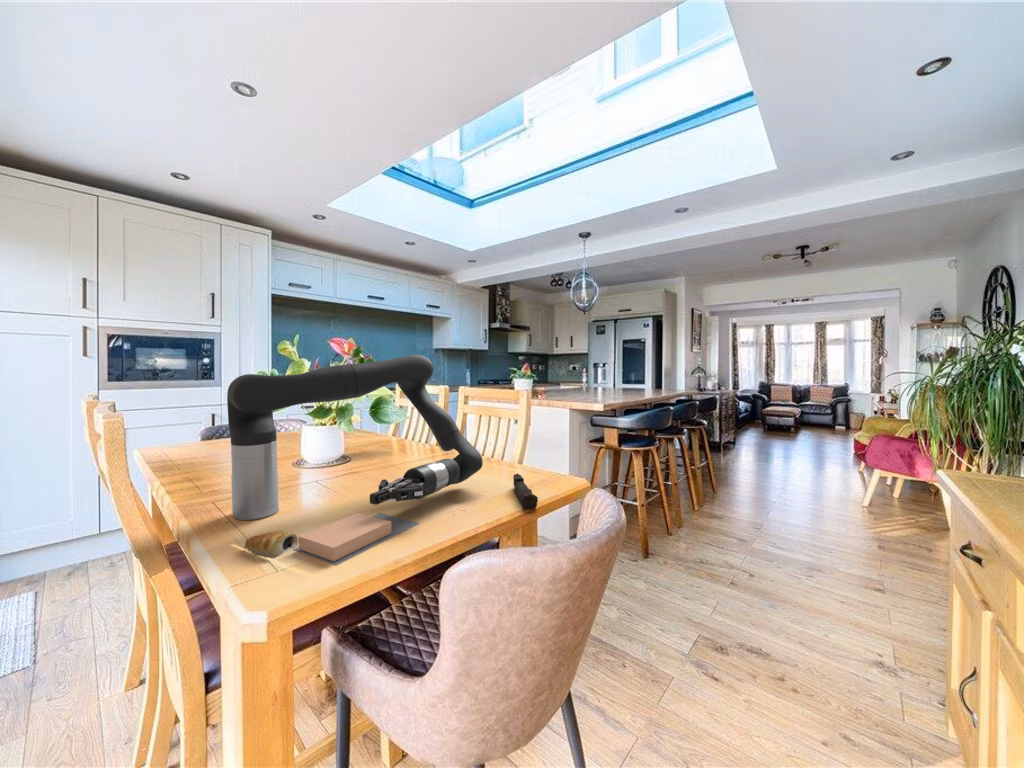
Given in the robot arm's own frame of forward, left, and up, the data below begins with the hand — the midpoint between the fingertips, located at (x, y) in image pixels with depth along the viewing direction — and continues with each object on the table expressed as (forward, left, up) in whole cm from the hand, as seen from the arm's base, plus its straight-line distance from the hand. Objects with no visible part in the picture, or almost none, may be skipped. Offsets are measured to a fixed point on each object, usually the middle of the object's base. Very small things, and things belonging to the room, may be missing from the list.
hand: (372, 499), depth 88 cm
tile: (0, 0, -5) cm, 5 cm away
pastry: (-10, -16, -8) cm, 20 cm away
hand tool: (+17, +36, -8) cm, 40 cm away
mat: (0, -3, -7) cm, 8 cm away
